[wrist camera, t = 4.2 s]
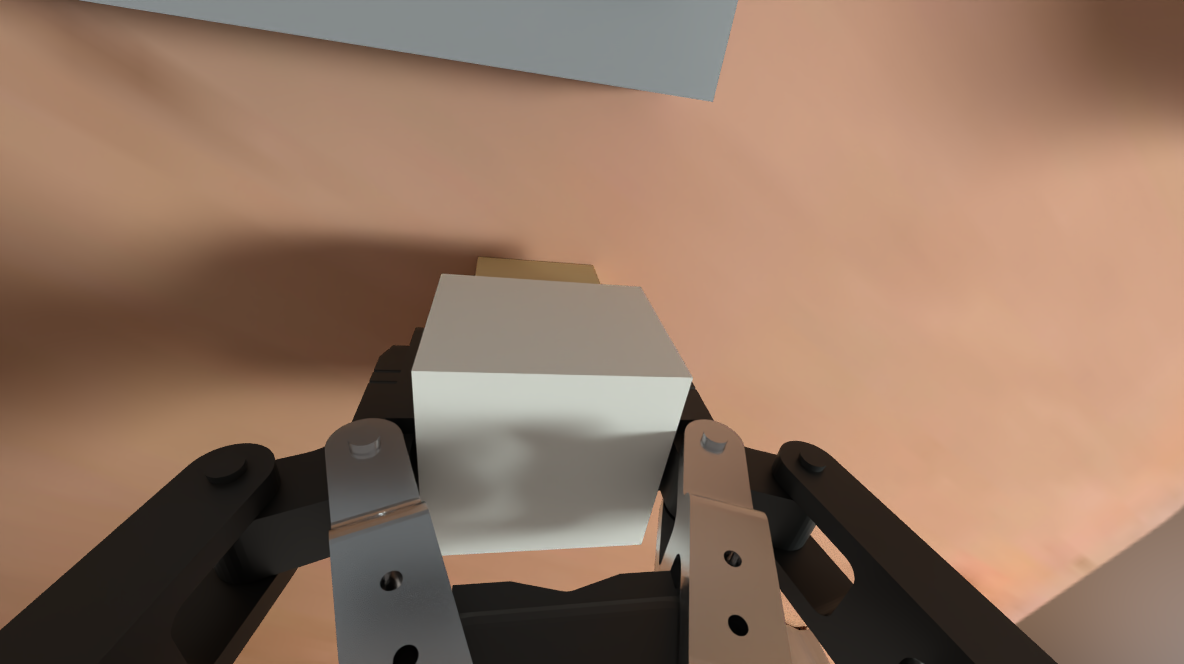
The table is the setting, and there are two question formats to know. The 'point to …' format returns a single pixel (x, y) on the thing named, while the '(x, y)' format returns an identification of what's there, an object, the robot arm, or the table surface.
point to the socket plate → (509, 33)
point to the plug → (542, 408)
